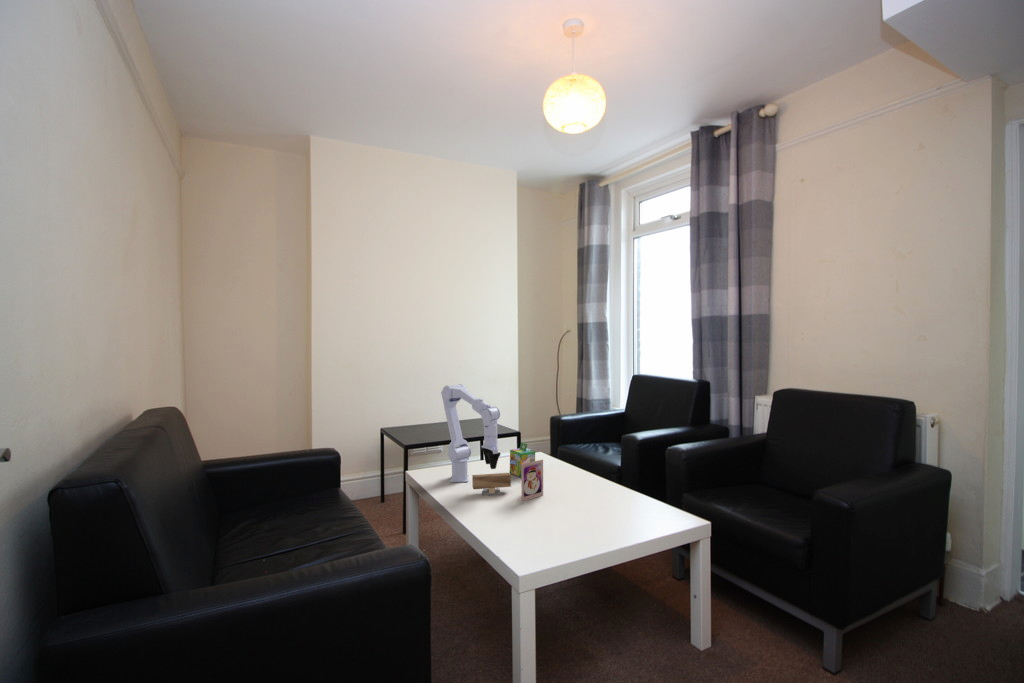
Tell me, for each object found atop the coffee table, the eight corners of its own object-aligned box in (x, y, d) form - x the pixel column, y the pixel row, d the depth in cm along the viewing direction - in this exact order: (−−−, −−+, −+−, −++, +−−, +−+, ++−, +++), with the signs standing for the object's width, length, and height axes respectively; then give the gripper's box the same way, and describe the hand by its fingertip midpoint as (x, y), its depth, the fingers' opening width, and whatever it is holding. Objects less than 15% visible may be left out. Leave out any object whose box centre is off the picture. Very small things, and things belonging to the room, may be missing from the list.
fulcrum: (483, 490, 201) (483, 484, 201) (499, 489, 202) (499, 484, 202) (483, 495, 195) (483, 489, 195) (500, 494, 196) (500, 488, 196)
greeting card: (522, 501, 188) (522, 464, 188) (512, 496, 194) (511, 460, 193) (544, 495, 194) (544, 459, 194) (533, 490, 200) (533, 456, 200)
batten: (472, 486, 199) (472, 475, 199) (509, 484, 202) (509, 472, 202) (473, 489, 195) (473, 477, 195) (510, 486, 199) (510, 474, 199)
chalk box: (509, 473, 226) (509, 443, 226) (524, 470, 232) (523, 440, 231) (520, 478, 219) (520, 446, 218) (536, 474, 224) (535, 443, 224)
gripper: (477, 432, 208) (477, 462, 209) (486, 439, 195) (486, 471, 195) (492, 431, 211) (492, 461, 211) (502, 438, 197) (502, 470, 197)
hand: (490, 466), depth 203 cm, fingers open, 7 cm apart
